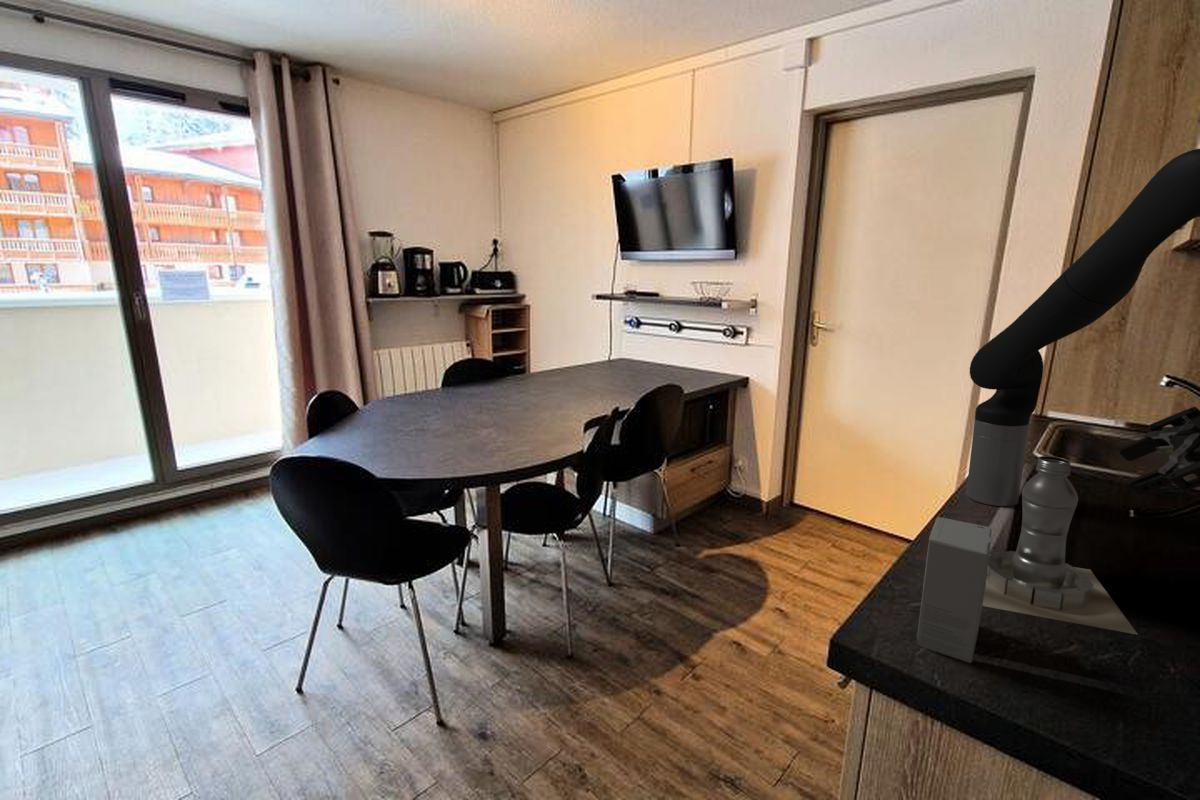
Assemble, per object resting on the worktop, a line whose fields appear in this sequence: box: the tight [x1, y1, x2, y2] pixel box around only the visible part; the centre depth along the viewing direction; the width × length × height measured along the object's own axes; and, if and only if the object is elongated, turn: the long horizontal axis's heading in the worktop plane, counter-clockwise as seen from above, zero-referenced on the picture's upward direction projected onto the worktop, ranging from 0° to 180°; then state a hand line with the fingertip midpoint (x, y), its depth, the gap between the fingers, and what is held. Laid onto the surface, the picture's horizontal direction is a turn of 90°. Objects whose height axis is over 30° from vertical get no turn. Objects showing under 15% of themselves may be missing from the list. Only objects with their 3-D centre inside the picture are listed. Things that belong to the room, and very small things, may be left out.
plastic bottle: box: [1011, 455, 1079, 589], centre depth 82 cm, size 6×7×20 cm
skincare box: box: [915, 516, 993, 664], centre depth 72 cm, size 8×7×16 cm
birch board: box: [982, 553, 1139, 636], centre depth 84 cm, size 18×18×1 cm
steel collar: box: [986, 550, 1093, 610], centre depth 84 cm, size 12×12×2 cm
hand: (1127, 471), depth 81 cm, fingers open, 8 cm apart
